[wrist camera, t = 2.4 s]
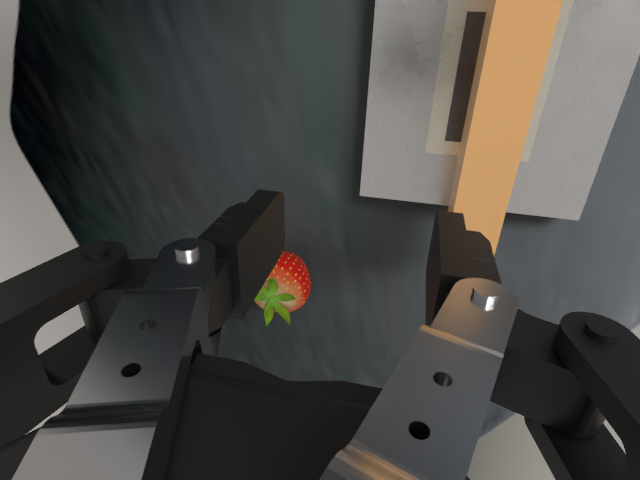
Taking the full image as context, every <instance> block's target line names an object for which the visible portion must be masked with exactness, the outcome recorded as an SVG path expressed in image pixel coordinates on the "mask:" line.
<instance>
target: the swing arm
mask: <svg viewBox="0 0 640 480" xmlns="http://www.w3.org/2000/svg"><path fill="white" fill-rule="evenodd" d="M562 3H563V0H489V1H488V6H487V11H486V16H485V21H484V26H483V32H482V37H481V42H480V47H479V52H478V57H477V62H476V68H475V73H474V78H473V83H472V88H471V93H470V98H469V103H468V109H467V114H466V119H465V124H464V129H463V134H462V139H461V145H460V150H459V155H458V160H457V165H456V170H455V175H454V180H453V186H452V191H451V196H450V201H449V206H448V212H457V213H463V215H464V220H465V226H466V230H469V231H478V232H481V233H482V234H483V235H484V236H485V237H486V238H487V239H488V240H489V241H490V243H491V247H492V251H493V252H492V253H493V254H494V255H495V251H496V247H497V244H498V240H499V236H500V233H501V229H502V225H503V221H504V218H505V214H506V210H507V207H508V203H509V199H510V195H511V192H512V188H513V184H514V181H515V177H516V173H517V170H518V166H519V162H520V158H521V155H522V151H523V147H524V144H525V140H526V136H527V132H528V129H529V125H530V121H531V118H532V114H533V110H534V107H535V103H536V99H537V95H538V92H539V88H540V84H541V81H542V77H543V73H544V69H545V66H546V62H547V58H548V55H549V51H550V47H551V44H552V40H553V36H554V32H555V29H556V25H557V21H558V18H559V14H560V10H561V6H562Z"/></svg>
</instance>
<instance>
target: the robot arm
mask: <svg viewBox="0 0 640 480" xmlns="http://www.w3.org/2000/svg"><path fill="white" fill-rule="evenodd" d="M284 240H285V226H284V196H283V193H282V192H277V191H268V190H257V191H256V192H255V193H254V194H253V196H252V197H251V198H250V199H249V200H248V201H247V202H246V203H243V202H241V203H238V204H236V205H234V206H232V207H230V208H228V209H227V210H226V211H225V212H224V213H223V214H222V215H221V216H220V217H219V218H218V219H217V220H216V221H214V224H213V223H212V224H211V225H210V226H209V227H208V228H207V229H206V230H205V231H204V232H203V233H202V234H201V235H200V236H199V237H198V238H187V239H181V240H177V241H174V242H171V243H169V244H167V245H165V246H164V247H163V248H162V249H161V250H160V251H159V253H158V255H157V257H156V258H152V259H129V258H128V253H127V249H126V246H125V245H124V244H122V243H120V242H116V241H96V242H91V243H87V244H84V245H81V246H79V247H77V248H75V249H72V250H70V251H68V252H66V253H64V254H62V255H60V256H58V257H55V258H53V259H51V260H49V261H47V262H45V263H43V264H41V265H38V266H36V267H34V268H32V269H30V270H28V271H25V272H23V273H21V274H19V275H17V276H15V277H13V278H10V279H8V280H6V281H4V282H2V283H0V480H470V479H469V478H468V477H467V472H468V469H469V466H470V462H471V459H472V456H473V453H474V450H475V447H476V443H477V440H478V437H479V434H480V430H481V427H482V424H483V421H484V417H485V414H486V411H487V408H488V405H489V401H491V402H494V403H496V404H498V405H500V406H503V407H505V408H507V409H509V410H512V411H514V412H516V413H519V414H521V415H523V416H524V419H525V423H526V425H527V427H528V429H529V431H530V433H531V435H532V437H533V438H534V440H535V442H536V444H537V446H538V448H539V450H540V451H541V453H542V455H543V457H544V459H545V461H546V463H547V464H548V466H549V468H550V470H551V472H552V473H553V475H554V477H555V479H556V480H640V339H639V338H638V337H637V336H635V335H634V334H633V333H632V332H631V331H630V330H629V329H627V328H626V327H625V326H623V325H621V324H620V323H618V322H616V321H614V320H612V319H610V318H607V317H605V316H601V315H598V314H594V313H589V312H571V313H568V314H566V315H564V316H563V317H562V319H561V321H560V324H559V325H557V324H554V323H551V322H548V321H545V320H542V319H539V318H536V317H534V316H531V315H529V314H527V313H525V312H523V311H521V310H520V309H518V307H519V301H518V298H517V296H516V295H515V294H514V293H513V292H512V291H511V290H510V289H508V288H507V287H505V286H503V285H502V284H501V280H500V276H499V273H498V269H497V265H496V262H495V258H494V254H493V253H492V252H493V251H492V247H491V243H490V241H489V240H488V239H487V238H486V237H485V236H484V235H483V234H482V233H481V232H478V231H469V230H466V226H465V220H464V215H463V213H457V212H448V211H439V210H437V212H436V216H435V222H434V227H433V233H432V238H431V244H430V249H429V255H428V261H427V269H426V324H423V325H422V326H421V327H420V328H419V330H418V332H417V333H416V335H415V337H414V338H413V340H412V342H411V343H410V345H409V346H408V348H407V350H406V351H405V353H404V355H403V356H402V358H401V360H400V361H399V363H398V365H397V366H396V368H395V369H394V371H393V373H392V374H391V376H390V378H389V379H388V381H387V383H386V384H385V386H384V388H383V389H381V388H376V387H371V386H366V385H361V384H355V383H350V382H345V381H286V380H283V379H281V378H279V377H277V376H274V375H272V374H270V373H268V372H265V371H263V370H261V369H259V368H256V367H254V366H252V365H250V364H248V363H245V362H242V361H237V360H232V359H227V358H222V357H221V356H222V348H223V341H224V322H225V320H226V319H227V317H230V318H236V319H242V320H243V318H244V316H245V315H246V313H247V311H248V310H249V308H250V306H251V305H252V303H253V301H254V300H255V298H256V296H257V295H258V293H259V291H260V290H261V288H262V286H263V285H264V283H265V281H266V280H267V278H268V276H269V275H270V273H271V271H272V270H273V268H274V266H275V265H276V263H277V261H278V260H279V258H280V256H281V254H282V251H283V247H284ZM78 304H79V307H80V311H81V314H82V317H83V320H84V323H85V326H83V327H82V328H80V329H79V330H77V331H76V332H74V333H73V334H71V335H69V336H68V337H66V338H65V339H63V340H61V341H60V342H58V343H57V344H55V345H54V346H52V347H51V348H49V349H48V350H46V351H44V352H43V353H41V354H40V355H38V353H37V350H36V348H35V345H34V338H35V336H36V333H37V332H38V330H39V329H40V328H41V327H42V326H43V325H44V324H46V323H47V322H49V321H51V320H52V319H54V318H56V317H57V316H59V315H61V314H62V313H64V312H66V311H68V310H69V309H71V308H73V307H74V306H76V305H78ZM65 403H67V404H66V406H65V408H64V410H63V411H62V412H61V413H60V414H59V415H57V416H54V417H51V418H50V419H49V420H47V421H46V422H45V423H44V424H43V425H42V427H40V428H38V429H36V430H34V431H32V432H30V433H28V432H29V431H30V430H32V429H33V428H34V427H35V426H37V425H38V424H39V423H41V422H42V421H43V420H44V419H46V418H47V417H48V416H50V415H51V414H52V413H54V412H55V411H56V410H58V409H59V408H60V407H61V406H63V405H64V404H65ZM605 419H606V420H607V421H608V422H609V424H610V425H611V426H612V428H613V429H614V430H615V432H616V433H617V435H618V436H619V437H620V439H621V440H622V443H623V445H624V448H625V451H626V454H625V453H624V451H623V450H622V449H621V447H620V446H619V445H618V443H617V442H616V440H615V439H614V438H613V436H612V435H611V433H610V432H609V431H608V429H607V428H606V427H605V425H604V424H603V422H604V421H605ZM26 433H28V434H26ZM25 434H26V435H25Z"/></svg>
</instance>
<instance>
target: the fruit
mask: <svg viewBox="0 0 640 480" xmlns="http://www.w3.org/2000/svg"><path fill="white" fill-rule="evenodd" d="M310 289H311V280H310V274H309V271H308V269H307V266H306V265H305V263H304V261H303V260H302V259H301V258H300V257H299V256H298V255H296V254H294V253H291V252H288V251H282V254H281V256H280V258H279V260H278V261H277V263H276V265H275V266H274V268H273V270H272V271H271V273H270V275H269V276H268V278H267V280H266V281H265V283H264V285H263V286H262V288H261V290H260V291H259V293H258V295H257V296H256V298H255V300H254V301H255V303H256V304H257V305H258V306H259V307H261V308H262V309H264V317H265V321H266V326H267V325H268V324H269V322H270V321H271V320H272V318H273V315H274V313H279V314H280V315H281V316H282V317H283V318H284V319H285V320H286V321H287V323H288V324H289V325H290V315H289V312H292V311H295V310H297V309H299V308H301V307H302V306H303V305H304V303H305V302H306V301H307V299H308V296H309V294H310Z"/></svg>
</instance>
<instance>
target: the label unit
mask: <svg viewBox="0 0 640 480" xmlns="http://www.w3.org/2000/svg"><path fill="white" fill-rule="evenodd" d="M488 1H489V0H375V13H374V25H373V37H372V50H371V62H370V74H369V87H368V99H367V111H366V124H365V136H364V148H363V161H362V173H361V185H360V196H366V197H375V198H384V199H393V200H402V201H410V202H419V203H428V204H437V205H446V206H449V201H450V196H451V191H452V186H453V180H454V175H455V170H456V165H457V160H458V155H459V150H460V145H461V139H462V134H463V129H464V124H465V119H466V114H467V109H468V103H469V98H470V93H471V88H472V83H473V78H474V73H475V68H476V62H477V57H478V52H479V47H480V42H481V37H482V32H483V26H484V21H485V16H486V11H487V6H488ZM639 55H640V0H563V3H562V6H561V10H560V14H559V18H558V21H557V25H556V29H555V32H554V36H553V40H552V44H551V47H550V51H549V55H548V58H547V62H546V66H545V69H544V73H543V77H542V81H541V84H540V88H539V92H538V95H537V99H536V103H535V107H534V110H533V114H532V118H531V121H530V125H529V129H528V132H527V136H526V140H525V144H524V147H523V151H522V155H521V158H520V162H519V166H518V170H517V173H516V177H515V181H514V184H513V188H512V192H511V195H510V199H509V203H508V207H507V210H506V212H507V213H516V214H525V215H534V216H543V217H552V218H560V219H569V220H578V221H579V218H580V216H581V213H582V210H583V208H584V205H585V202H586V199H587V197H588V194H589V191H590V188H591V186H592V183H593V180H594V178H595V175H596V172H597V169H598V167H599V164H600V161H601V158H602V156H603V153H604V150H605V148H606V145H607V142H608V139H609V137H610V134H611V131H612V128H613V126H614V123H615V120H616V118H617V115H618V112H619V109H620V107H621V104H622V101H623V98H624V96H625V93H626V90H627V88H628V85H629V82H630V79H631V77H632V74H633V71H634V68H635V66H636V63H637V60H638V58H639Z"/></svg>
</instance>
